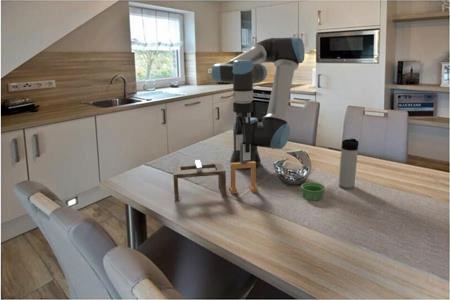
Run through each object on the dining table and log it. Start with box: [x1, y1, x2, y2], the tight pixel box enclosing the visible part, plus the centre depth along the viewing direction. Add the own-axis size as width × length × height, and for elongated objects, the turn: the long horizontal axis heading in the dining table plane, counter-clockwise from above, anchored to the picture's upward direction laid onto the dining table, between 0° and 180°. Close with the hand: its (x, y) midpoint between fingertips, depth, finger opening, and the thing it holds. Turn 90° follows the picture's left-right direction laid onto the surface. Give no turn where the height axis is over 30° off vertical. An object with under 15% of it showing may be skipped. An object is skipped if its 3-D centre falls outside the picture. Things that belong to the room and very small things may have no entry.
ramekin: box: [300, 181, 326, 202], centre depth 137 cm, size 9×9×4 cm
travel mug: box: [338, 138, 359, 190], centre depth 144 cm, size 6×7×20 cm
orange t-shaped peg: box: [228, 143, 258, 195], centre depth 142 cm, size 11×5×20 cm, turn 99°
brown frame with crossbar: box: [172, 162, 227, 202], centre depth 140 cm, size 20×10×11 cm, turn 99°
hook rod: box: [194, 159, 203, 172], centre depth 138 cm, size 2×8×2 cm, turn 9°
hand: (242, 154), depth 140 cm, fingers open, 13 cm apart
